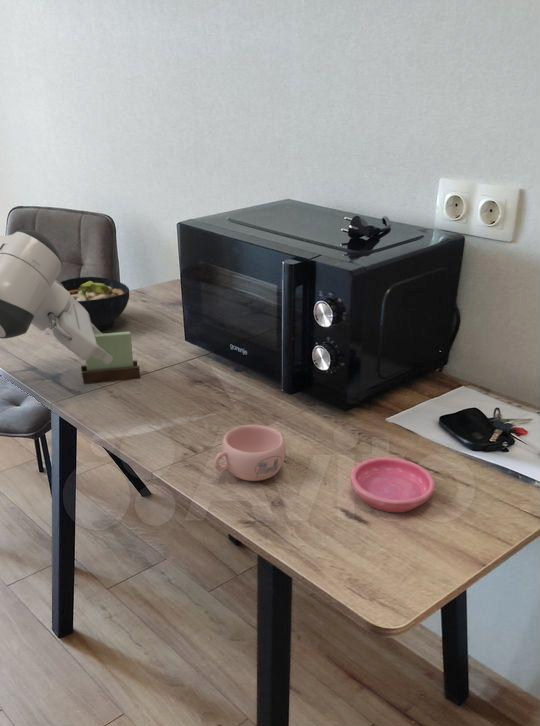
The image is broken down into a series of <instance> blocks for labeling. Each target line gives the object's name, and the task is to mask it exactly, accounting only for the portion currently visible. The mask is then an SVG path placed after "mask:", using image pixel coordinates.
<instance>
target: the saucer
mask: <svg viewBox="0 0 540 726" xmlns="http://www.w3.org/2000/svg"><path fill="white" fill-rule="evenodd" d="M350 484H351V487H352V489H353V490H354V492H355V493H356V495H358V497H360V498H361V500H362V501H363V503H365V504H367V505H368V506H370V507H371V508H372V509H373V508H374V509H375V510H379V511H381V512H385V513H405V512H409V511H412V510H414V509H417V508H418V507H419V506H422V505H423V504H424V503H426V502H427V501H429V500H430V499H431V498H432V496H433V494H434V492H435V487H436V483H435V480H434V477H433V476H432V474H431V473H430V472H429V471H428V470H427V469H425V468H424V467H423V466H421V465H419V464H417V463H415V462H412V461H410V460H407V459H402V458H397V457H385V456H383V457H373V458H370V459H367V460H364V461H363V460H362V461H361V462H359V463H357V464H356V465H355V466H354V467H353V468H352V470H351V474H350Z"/></svg>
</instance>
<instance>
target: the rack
mask: <svg viewBox="0 0 540 726" xmlns="http://www.w3.org/2000/svg"><path fill="white" fill-rule="evenodd" d="M80 371H81V377H82V382H83V384H84V385H88V384H97V383H107V382H116V381H126V380H127V381H128V380H137V379H141V372H140V366H139V365H138V360H136V359H135V360H133V366H131V367H121V368H110V369H100V370H90V371H87V368H86V364H84V365H80Z"/></svg>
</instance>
